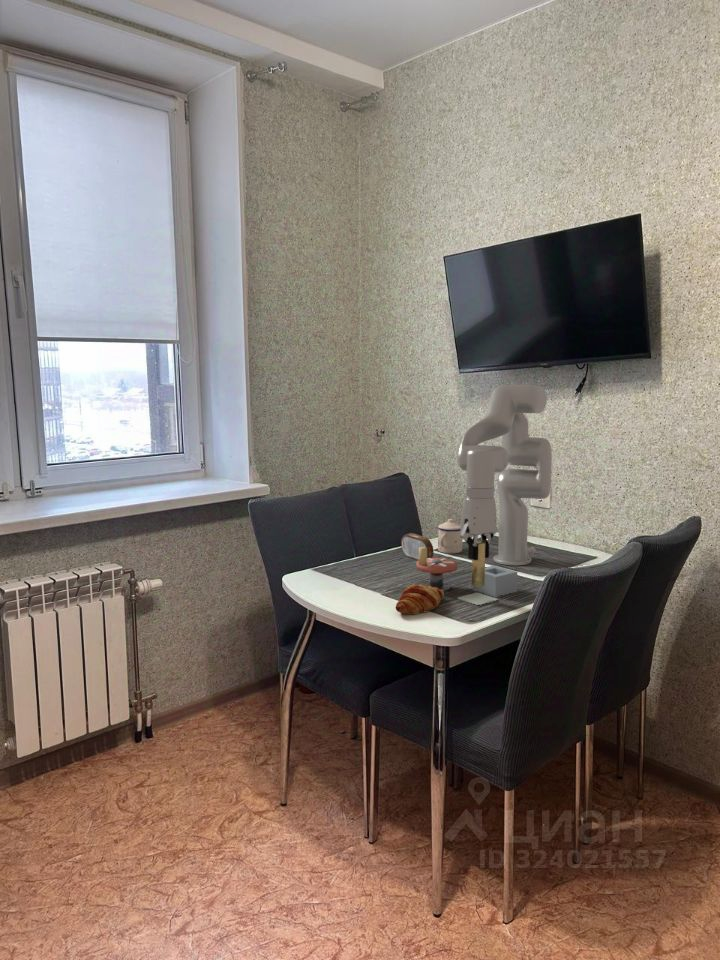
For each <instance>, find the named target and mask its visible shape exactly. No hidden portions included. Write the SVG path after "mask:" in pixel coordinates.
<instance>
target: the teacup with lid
mask: <svg viewBox="0 0 720 960" xmlns="http://www.w3.org/2000/svg"><path fill="white" fill-rule="evenodd" d="M460 525H461V524H460V523H459V524H458V523H457V522H456V521H454V519H453V518H448V519H447V521H445V522H444V523H440V524H439V525H438V526H437V529H438V536H437V538H438V539H437V540H438V541H437V543H438V546H437V549H438V551H439V552H440V553H443V554H459V553H460V554H461V553H462V552H463V539H462V538H461V537H460V534H461V530H460Z"/></svg>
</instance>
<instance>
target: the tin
mask: <svg viewBox="0 0 720 960" xmlns="http://www.w3.org/2000/svg"><path fill="white" fill-rule="evenodd" d="M400 546H401V550H402V552H403V555H404V556H406V557H407V558H410V559H412V560H415V561H418V560H419V547H426V548H427V558H434V553H435V552H434V546H433V543H432V541H431V540H430V539H429V538H428V537H426V536H422V535H420V534H417V533H412V532H410V533H407V534H404V535H403V536H402V537H401V541H400Z"/></svg>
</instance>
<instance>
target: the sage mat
mask: <svg viewBox="0 0 720 960" xmlns="http://www.w3.org/2000/svg"><path fill="white" fill-rule="evenodd" d="M457 599H458V600H459V601H463V602H465V603H468V604H471V603H472V605H473V604H475V605H474V606H476V605H480V606H483V605H482V604H484V605H486V604H485V603H488V604H490V603H489V602H491V603H493V602H492V601H495V602H497V601H496V600H498V601H499V599H498V598H497V597H492V596H489V595H486V594H483V593H480V592H474V593H471V594H466V595H462V596H459V597H457Z"/></svg>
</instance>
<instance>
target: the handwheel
mask: <svg viewBox="0 0 720 960" xmlns="http://www.w3.org/2000/svg"><path fill="white" fill-rule="evenodd" d="M415 565H416V566H415V567H416V569H417V570H418V571H420V572H423V573H429V574H430V573H443V574H447V573H448V574H449V573H454V572H456V571H457V570H458V562H457V561H455V560H453V559H450V558H444V557H441V558H440V557H432V558H427V548H426V547H419V560H416V564H415Z"/></svg>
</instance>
